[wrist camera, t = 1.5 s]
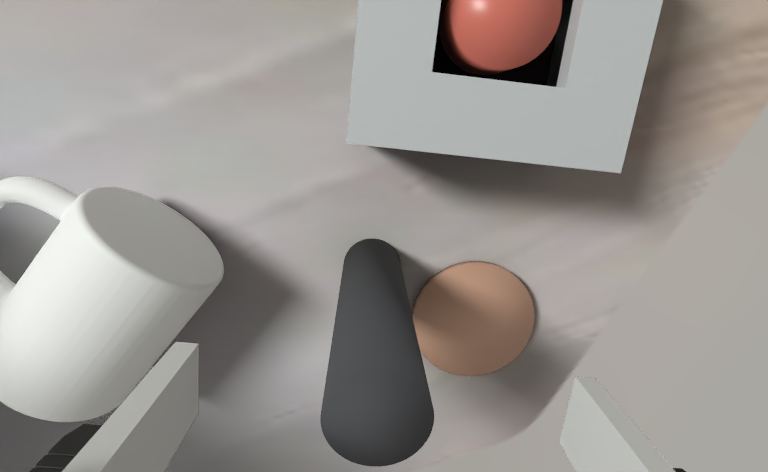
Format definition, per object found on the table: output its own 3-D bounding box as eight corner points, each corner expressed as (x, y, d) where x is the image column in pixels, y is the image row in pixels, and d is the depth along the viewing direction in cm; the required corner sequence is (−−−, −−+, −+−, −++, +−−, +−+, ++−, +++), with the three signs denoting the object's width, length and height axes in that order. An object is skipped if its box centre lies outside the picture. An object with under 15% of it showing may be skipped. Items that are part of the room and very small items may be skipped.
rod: (341, 289, 29) (316, 462, 15) (346, 236, 28) (324, 364, 14) (396, 294, 29) (426, 469, 15) (403, 241, 28) (441, 373, 14)
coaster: (405, 366, 31) (405, 371, 30) (420, 255, 29) (421, 258, 28) (519, 375, 31) (522, 380, 31) (542, 266, 29) (545, 269, 29)
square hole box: (352, 135, 27) (346, 143, 19) (373, -99, 24) (376, -203, 16) (549, 156, 27) (620, 173, 20) (594, -67, 24) (700, -152, 17)
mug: (241, 257, 28) (195, 310, 21) (152, 366, 30) (79, 452, 22) (71, 130, 26) (-53, 137, 18) (-14, 256, 28) (-161, 310, 20)
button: (432, 69, 22) (443, 62, 19) (446, -37, 21) (459, -62, 18) (525, 80, 22) (549, 75, 19) (544, -24, 21) (573, -46, 18)
